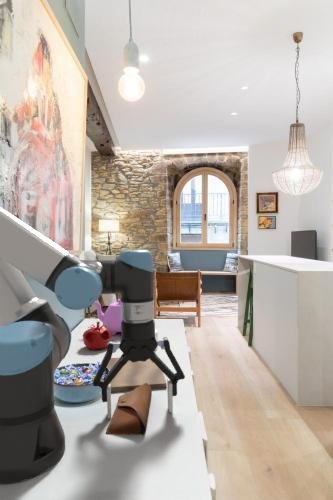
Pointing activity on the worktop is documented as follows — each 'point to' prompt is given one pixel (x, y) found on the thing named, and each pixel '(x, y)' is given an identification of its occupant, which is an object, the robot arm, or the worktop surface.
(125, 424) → the sunglasses case
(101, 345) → the pomegranate
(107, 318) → the teapot
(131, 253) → the robot arm
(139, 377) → the walnut board
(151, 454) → the worktop surface
